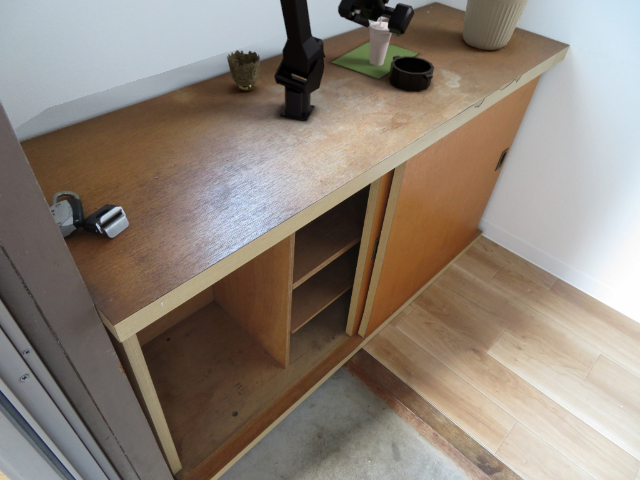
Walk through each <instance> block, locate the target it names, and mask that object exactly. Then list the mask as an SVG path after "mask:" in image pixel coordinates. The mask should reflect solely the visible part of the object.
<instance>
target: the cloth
mask: <svg viewBox="0 0 640 480" xmlns="http://www.w3.org/2000/svg"><path fill="white" fill-rule="evenodd" d="M398 55H399V56H400V57H402V56H413V57H417V56H418V55H419V52H416V51H413V50H410V49H406V48H404V47H400V46H397V45H394V44H391V43H389V44H388V48H387V52H386V55H385V59H384V63H383V65H381V66H375V65H372V64H370V41H367V42H365V43H364V44H362V45H360V46H359V47H356V48H355V49H353V50H351V51H349V52H347V53H346V54H343V55H342V56H340V57H338V58H336V59H335V60H334V59H333V61H331V64H333V65H336V66H338V67H342V68H345V69H347V70H349V71H354V72H356V73H359V74H362V75H365V76H368V77H371V78H374V79H377V80H381V79H383V78H385V76H387V75H389V73H390V67H391V62H392V61H393V56H398Z"/></svg>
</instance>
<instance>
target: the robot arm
mask: <svg viewBox="0 0 640 480" xmlns="http://www.w3.org/2000/svg"><path fill="white" fill-rule="evenodd" d="M389 1H390V0H340V2H339V4H338V6H337V13H338V15H339V16H340V18H343V19H345V20H346V21H349V22H352V23H355V24H357V25H359V26H361V27H364V28H367V29H369V25H370V21H371V22H377V21H378V20H379V19H380V17H382V18H384V19H388V21H387V23H388V29H389V32H390V33H391V35H394V36H395V37H398V38H399V37H400V35H404V34H405V33H406V31H407V30H408V28H409V25H410V24H411V21H412V19H413V17H414V16H415V11H414V7H413V6H412V5H410V4H405V3H401V2H398V3H396V5H395V7H391V6H387V5H388V4H389ZM279 3H280V8H281V13H282V18H283V23H284V29H285V34H286V41H285V43H284V45H283V48H282V52H281V53H282V59H281V61H280V63H279V65H278V67H277V69H276V71H275V73H274V77H273V78H274V81H275V84H277V85H280V86H283V87H284V106H283V108H282V109H281V111H280V112H279V116H280V117H283V118H289V119H295V120H299V121H305V122H306V121H308V120H309V118H310V117H311V115H312V114H313V112H314V110H315V109H316V105H314V104H311V101H312V100H311V99H312V93H314V92H315V91H317V90H319V89H320V88H321V85H322V80H323V76H324V71H325V58H326V54H325V48H324V47H325V45H324V44H325V43H324V42H323V39H322V38H320V37H316V36H313V34H312V28H311V19H310V13H309V5H308V0H279Z"/></svg>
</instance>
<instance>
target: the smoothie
mask: <svg viewBox="0 0 640 480" xmlns="http://www.w3.org/2000/svg"><path fill="white" fill-rule="evenodd" d="M369 23H370V22H369ZM368 30H369V42H370V64H372V65H375V66H381V65H383V63H384V59H385V55H386V52H387V48H388V44H390V41H391V37H392V33H390V32H389V29H388V21H383V17H380V18H379V21H378V20H377V22H374V21H371V23H370V25H369V27H368Z"/></svg>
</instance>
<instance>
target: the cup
mask: <svg viewBox="0 0 640 480" xmlns="http://www.w3.org/2000/svg"><path fill="white" fill-rule="evenodd" d="M226 58H227V59H226V60H227V63H228V64H227V65H228V68H229V72H230V76H231V79H232V80H233V82H234V83H235V84H236V85H237V88H238V90H239V91H240V92H243V93H248V92H251V91H252V90H254V87H255V86H254V85H255V84H256V83H257V81H258V79H259V75H260V65H261V64H260V63H261V62H260V61H261V57H260V54H258V53H257V52H256V51H251V50H249V51H248V53H244V50H238V49H236V50H235V51H234V52H233V51H231V53H230V54H229V53H228V55H226Z"/></svg>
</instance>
